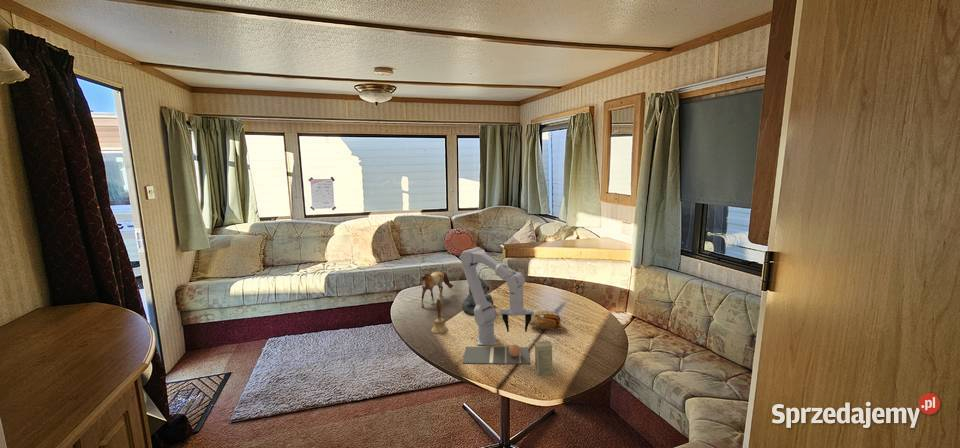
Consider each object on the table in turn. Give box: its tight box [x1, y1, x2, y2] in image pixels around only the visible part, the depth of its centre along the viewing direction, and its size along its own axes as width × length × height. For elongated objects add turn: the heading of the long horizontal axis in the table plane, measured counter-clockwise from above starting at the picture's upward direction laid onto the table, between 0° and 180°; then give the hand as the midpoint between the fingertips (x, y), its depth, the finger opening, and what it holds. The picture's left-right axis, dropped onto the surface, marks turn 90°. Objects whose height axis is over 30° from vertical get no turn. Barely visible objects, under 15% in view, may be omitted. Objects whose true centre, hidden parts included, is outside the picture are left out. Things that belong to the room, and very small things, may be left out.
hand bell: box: [431, 298, 449, 335], centre depth 193 cm, size 8×8×16 cm
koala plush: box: [461, 274, 494, 315], centre depth 217 cm, size 17×18×20 cm
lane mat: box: [461, 346, 531, 365], centre depth 168 cm, size 14×28×1 cm, turn 86°
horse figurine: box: [420, 271, 455, 308], centre depth 233 cm, size 31×8×21 cm, turn 152°
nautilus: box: [528, 310, 567, 335], centre depth 192 cm, size 8×22×15 cm
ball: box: [509, 344, 521, 357], centre depth 166 cm, size 5×5×5 cm
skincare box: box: [534, 340, 554, 376], centre depth 153 cm, size 6×4×12 cm
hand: (516, 330), depth 168 cm, fingers open, 7 cm apart
